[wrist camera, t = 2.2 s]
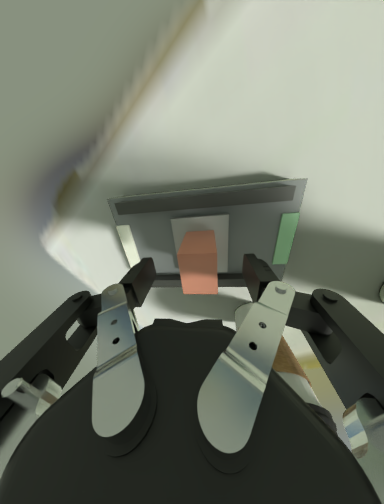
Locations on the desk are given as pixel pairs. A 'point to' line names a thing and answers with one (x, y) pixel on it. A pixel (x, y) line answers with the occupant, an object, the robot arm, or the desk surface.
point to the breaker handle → (201, 251)
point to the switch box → (209, 203)
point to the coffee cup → (291, 371)
